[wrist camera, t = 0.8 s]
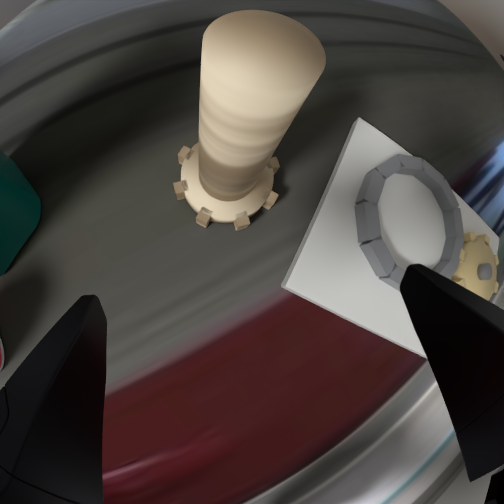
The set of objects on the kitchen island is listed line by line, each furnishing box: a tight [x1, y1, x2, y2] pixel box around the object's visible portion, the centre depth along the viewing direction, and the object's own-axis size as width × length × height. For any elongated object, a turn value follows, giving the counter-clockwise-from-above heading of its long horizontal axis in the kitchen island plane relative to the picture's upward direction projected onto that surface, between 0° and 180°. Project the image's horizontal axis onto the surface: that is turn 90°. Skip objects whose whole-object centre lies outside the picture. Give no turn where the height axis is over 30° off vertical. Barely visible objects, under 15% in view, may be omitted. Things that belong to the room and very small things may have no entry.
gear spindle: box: [173, 10, 326, 231], centre depth 14 cm, size 8×8×14 cm
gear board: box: [281, 118, 499, 359], centre depth 22 cm, size 16×22×4 cm
